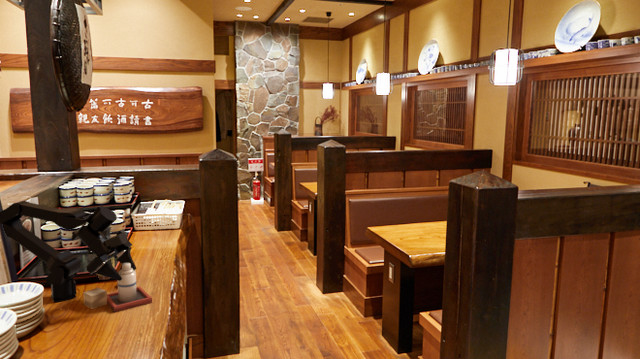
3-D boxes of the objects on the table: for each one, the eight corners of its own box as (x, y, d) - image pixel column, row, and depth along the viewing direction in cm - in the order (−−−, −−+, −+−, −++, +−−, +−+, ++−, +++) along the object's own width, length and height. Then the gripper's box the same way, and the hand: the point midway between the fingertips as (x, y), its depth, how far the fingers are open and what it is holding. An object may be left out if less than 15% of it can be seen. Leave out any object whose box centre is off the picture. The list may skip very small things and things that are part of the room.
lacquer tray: (114, 312, 135) (114, 307, 135) (104, 299, 144) (104, 294, 143) (151, 302, 143) (151, 297, 142) (140, 291, 151) (139, 286, 151)
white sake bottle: (126, 303, 139) (125, 268, 137) (114, 299, 142) (112, 265, 140) (140, 297, 144) (139, 263, 143) (128, 293, 147) (127, 260, 145)
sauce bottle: (107, 281, 159) (105, 229, 156) (92, 279, 160) (90, 228, 157) (119, 275, 165) (116, 225, 162) (104, 273, 166) (102, 224, 163)
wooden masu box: (92, 309, 137) (91, 296, 136) (84, 305, 140) (83, 292, 139) (107, 304, 141) (106, 291, 140) (99, 300, 144) (98, 287, 143)
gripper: (94, 232, 130) (130, 269, 131) (125, 217, 149) (157, 250, 150) (70, 255, 132) (106, 291, 133) (105, 238, 150) (136, 270, 151)
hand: (128, 274), depth 142 cm, fingers open, 9 cm apart
